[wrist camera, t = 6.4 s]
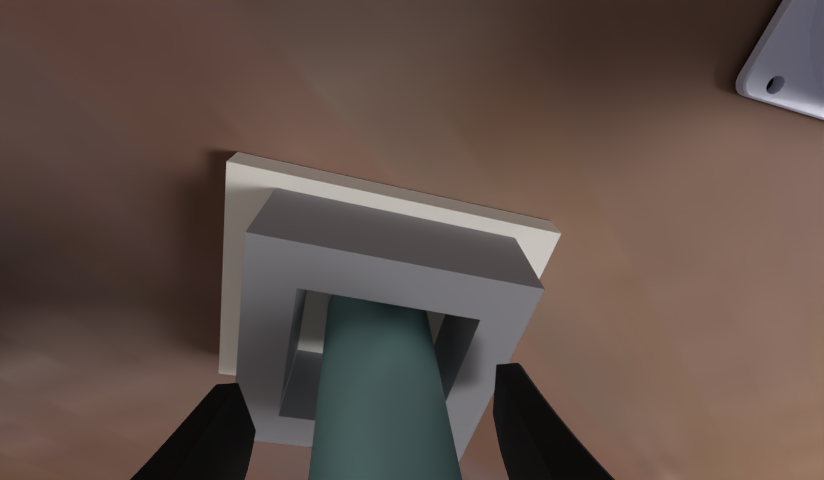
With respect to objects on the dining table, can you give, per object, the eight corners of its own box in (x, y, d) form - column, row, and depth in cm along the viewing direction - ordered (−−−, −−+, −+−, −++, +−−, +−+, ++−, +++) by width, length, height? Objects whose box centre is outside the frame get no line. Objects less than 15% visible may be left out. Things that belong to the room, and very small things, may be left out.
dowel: (444, 300, 15) (501, 501, 9) (388, 359, 16) (404, 571, 10) (363, 255, 13) (364, 456, 7) (308, 324, 15) (272, 544, 9)
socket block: (550, 221, 15) (601, 284, 11) (472, 390, 19) (491, 475, 15) (237, 151, 13) (179, 200, 9) (227, 354, 17) (184, 442, 13)
